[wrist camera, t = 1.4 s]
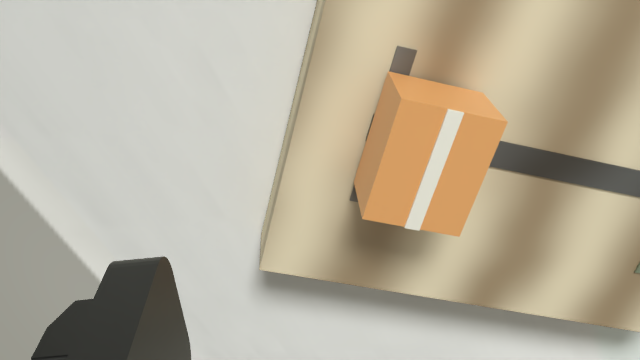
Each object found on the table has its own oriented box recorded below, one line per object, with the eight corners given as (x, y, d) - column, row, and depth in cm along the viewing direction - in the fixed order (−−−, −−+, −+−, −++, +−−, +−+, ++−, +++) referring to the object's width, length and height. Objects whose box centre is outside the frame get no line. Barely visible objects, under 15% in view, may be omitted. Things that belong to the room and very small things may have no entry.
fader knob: (353, 181, 26) (362, 220, 23) (387, 71, 23) (401, 99, 21) (441, 198, 26) (460, 238, 24) (483, 92, 24) (508, 123, 21)
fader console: (261, 233, 30) (259, 271, 28) (342, -106, 23) (350, -101, 20) (644, 300, 34) (676, 339, 31) (817, 23, 27) (878, 42, 24)
